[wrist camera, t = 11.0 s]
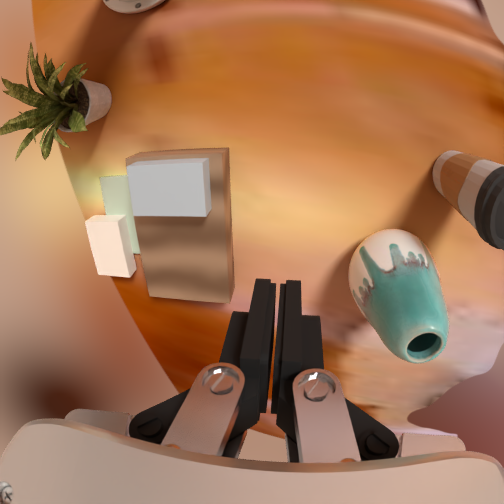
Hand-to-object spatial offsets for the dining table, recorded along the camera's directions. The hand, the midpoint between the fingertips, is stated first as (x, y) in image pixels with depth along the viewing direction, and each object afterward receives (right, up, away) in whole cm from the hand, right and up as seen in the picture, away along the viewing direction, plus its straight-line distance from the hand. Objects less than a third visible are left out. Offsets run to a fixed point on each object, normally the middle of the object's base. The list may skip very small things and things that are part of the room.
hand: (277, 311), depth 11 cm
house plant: (-21, +23, +22) cm, 38 cm away
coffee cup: (+25, +13, +21) cm, 35 cm away
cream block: (-22, +3, +29) cm, 37 cm away
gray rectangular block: (-10, +10, +22) cm, 27 cm away
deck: (-10, +6, +29) cm, 31 cm away
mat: (-19, +8, +30) cm, 36 cm away
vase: (+17, +2, +28) cm, 33 cm away
